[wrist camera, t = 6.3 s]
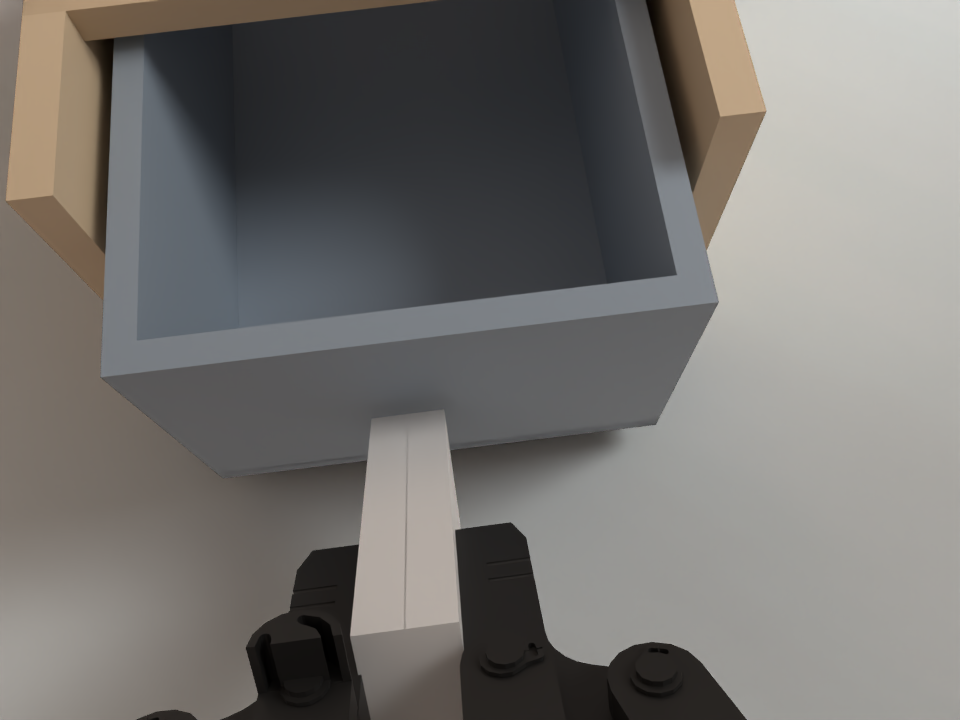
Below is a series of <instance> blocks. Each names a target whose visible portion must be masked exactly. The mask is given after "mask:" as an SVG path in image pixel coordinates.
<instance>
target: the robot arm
mask: <svg viewBox="0 0 960 720" xmlns="http://www.w3.org/2000/svg"><path fill="white" fill-rule="evenodd" d="M293 592H294V594H292V599H291V604H290V611H289V613H286V614H282V615H280V616H278V617H276V618H274V619H272V620H270V621H268V622H266V623H265V624H264V625H263V626H261V627H260V628H259V629H258V630H257V631H256V632H255V633H254V634H253V635H252V637H251V639H250V640H249V642H248V644H247V646H246V650H247V654H248V658H249V661H250V665H251V669H252V672H253V676H254V680H255V683H256V687H257V691H258V698H257V701H255V702H254V703H253V704H251V705H250V706H248V707H247V708H245V709H244V710H242V711H240V712H237V713H235V714H233V715H231V716H229V717H226V718H224V719H221V720H747V719H746V718H745V717H744V716H743V714H742V713H741V712H740V711H739V709H738V708H737V707H736V706H735V704H734V703H733V702H732V701H731V699H730V698H729V697H728V696H727V694H726V693H725V692H724V691H723V689H722V688H721V687H720V686H719V684H718V683H717V682H716V681H715V679H714V678H713V677H712V676H711V674H710V673H709V672H708V671H707V669H706V668H705V667H704V666H703V664H702V663H701V662H700V661H699V660H698V659H697V658H695V657H694V656H693V655H692V654H691V653H689V652H688V651H687V650H684V649H682V648H679V647H677V646H674V645H672V644H664V643H655V642H650V643H644V644H638V645H634V646H632V647H630V648H628V649H626V650H624V651H622V652H620V653H619V654H618V655H617V656H616V657H615V658H614V660H613V661H612V662H611V663H610V665H609V667H607V666H599V665H591V664H586V663H581V662H577V661H575V660H572V659H570V658H567V657H565V656H564V655H562V654H561V653H560V652H558V651H557V650H555V648H554V647H553V646H552V645H551V644H550V642H549V641H548V638H547V636H546V633H545V629H544V624H543V619H542V614H541V610H540V605H539V600H538V595H537V590H536V585H535V580H534V576H533V570H532V565H531V561H530V555H529V550H528V545H527V540H526V537H525V536H524V535H523V534H522V533H521V532H520V531H519V530H518V529H517V528H516V527H515V526H514V525H513V524H512V523H503V524H495V525H488V526H480V527H473V528H465V529H461V526H460V517H459V510H458V503H457V496H456V489H455V482H454V475H453V468H452V461H451V454H450V447H449V440H448V433H447V425H446V418H445V411H444V409H442V410H434V411H426V412H419V413H411V414H403V415H395V416H388V417H380V418H372V419H371V429H370V439H369V449H368V459H367V470H366V480H365V490H364V500H363V510H362V520H361V530H360V540H359V545H352V546H344V547H337V548H329V549H322V550H314V551H312V552H311V553H310V555H309V556H308V557H307V559H306V560H305V561H304V562H303V564H302V565H301V566H300V567H299V569H298V570H297V574H296V579H295V584H294V589H293ZM137 720H197V719H196V718H195V717H194V716H193V715H191V714H190V713H187V712H183V711H178V710H168V711H159V712H155V713H152V714H149V715H147V716H144V717H141V718H139V719H137Z"/></svg>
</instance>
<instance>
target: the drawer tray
mask: <svg viewBox="0 0 960 720" xmlns="http://www.w3.org/2000/svg"><path fill="white" fill-rule="evenodd" d="M718 303H719V301H718V297H717V293H716V289H715V285H714V281H713V276H712V272H711V268H710V264H709V260H708V256H707V252H706V248H705V243H704V239H703V235H702V231H701V227H700V223H699V219H698V215H697V211H696V206H695V202H694V198H693V194H692V190H691V186H690V182H689V178H688V173H687V169H686V165H685V161H684V157H683V153H682V149H681V145H680V140H679V136H678V132H677V128H676V124H675V120H674V116H673V112H672V107H671V103H670V99H669V95H668V91H667V87H666V83H665V79H664V75H663V70H662V66H661V62H660V58H659V54H658V50H657V46H656V42H655V37H654V33H653V29H652V25H651V21H650V17H649V13H648V9H647V4H646V0H439V1H430V2H421V3H412V4H404V5H395V6H386V7H378V8H369V9H360V10H352V11H343V12H334V13H326V14H317V15H308V16H300V17H291V18H282V19H273V20H265V21H256V22H247V23H239V24H230V25H221V26H213V27H204V28H195V29H187V30H178V31H169V32H160V33H152V34H143V35H134V36H126V37H117V38H114V54H113V78H112V103H111V128H110V153H109V177H108V202H107V227H106V251H105V276H104V301H103V326H102V350H101V375H100V377H101V378H102V379H103V380H104V381H105V382H107V383H108V384H109V385H110V386H112V387H113V388H114V389H115V390H116V391H118V392H119V393H120V394H121V395H122V396H124V397H125V398H126V399H127V400H129V401H130V402H131V403H132V404H133V405H135V406H136V407H137V408H138V409H139V410H141V411H142V412H143V413H144V414H146V415H147V416H148V417H149V418H150V419H152V420H153V421H154V422H155V423H156V424H158V425H159V426H160V427H161V428H163V429H164V430H165V431H166V432H167V433H169V434H170V435H171V436H172V437H173V438H175V439H176V440H177V441H178V442H179V443H181V444H182V445H183V446H184V447H186V448H187V449H188V450H189V451H190V452H192V453H193V454H194V455H195V456H196V457H198V458H199V459H200V460H201V461H203V462H204V463H205V464H206V465H207V466H209V467H210V468H211V469H212V470H213V471H215V472H216V473H217V474H218V475H220V476H221V477H222V478H230V477H238V476H246V475H254V474H262V473H270V472H278V471H286V470H294V469H302V468H310V467H318V466H326V465H334V464H343V463H351V462H359V461H367V459H368V449H369V439H370V429H371V419H372V418H380V417H388V416H395V415H403V414H411V413H419V412H426V411H434V410H442V409H444V411H445V418H446V425H447V433H448V440H449V447H450V450H455V449H463V448H472V447H480V446H488V445H496V444H504V443H512V442H520V441H528V440H536V439H544V438H552V437H560V436H568V435H576V434H584V433H593V432H601V431H609V430H617V429H625V428H633V427H641V426H649V425H656V423H657V421H658V419H659V417H660V415H661V413H662V411H663V409H664V407H665V405H666V403H667V402H668V400H669V398H670V396H671V394H672V392H673V390H674V388H675V386H676V384H677V382H678V380H679V378H680V376H681V374H682V372H683V370H684V369H685V367H686V365H687V363H688V361H689V359H690V357H691V355H692V353H693V351H694V349H695V347H696V345H697V343H698V341H699V339H700V337H701V336H702V334H703V332H704V330H705V328H706V326H707V324H708V322H709V320H710V318H711V316H712V314H713V312H714V310H715V308H716V306H717V304H718Z"/></svg>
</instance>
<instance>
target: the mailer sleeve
mask: <svg viewBox="0 0 960 720" xmlns="http://www.w3.org/2000/svg"><path fill="white" fill-rule="evenodd" d="M430 1H439V0H23V12H22V23H21V34H20V45H19V56H18V67H17V78H16V90H15V101H14V112H13V123H12V134H11V145H10V156H9V168H8V179H7V190H6V202H7V203H8V204H9V205H10V206H11V207H12V208H13V209H14V210H15V211H16V212H17V213H18V214H19V215H20V216H21V217H22V218H23V219H24V220H25V221H26V222H27V223H28V224H29V225H30V226H31V227H32V229H33V230H34V231H35V232H36V233H37V234H38V235H39V236H40V237H41V238H42V239H43V240H44V241H45V242H46V243H47V244H48V245H49V246H50V247H51V248H52V249H53V250H54V251H55V252H56V253H57V254H58V255H59V256H60V257H61V258H62V259H63V260H64V261H65V262H66V263H67V264H68V265H69V266H70V267H71V268H72V269H73V270H74V271H75V272H76V273H77V274H78V275H79V276H80V277H81V278H82V279H83V281H84V282H85V283H86V284H87V285H88V286H89V287H90V288H91V289H92V290H93V291H94V292H95V293H96V294H97V295H98V296H99V297H100V298H101V299H102V300H103V301H104V276H105V251H106V227H107V202H108V177H109V153H110V128H111V103H112V78H113V54H114V38H117V37H126V36H134V35H143V34H152V33H160V32H169V31H178V30H187V29H195V28H204V27H213V26H221V25H230V24H239V23H247V22H256V21H265V20H273V19H282V18H291V17H300V16H308V15H317V14H326V13H334V12H343V11H352V10H360V9H369V8H378V7H386V6H395V5H404V4H412V3H421V2H430ZM646 4H647V9H648V13H649V17H650V21H651V25H652V29H653V33H654V37H655V42H656V46H657V50H658V54H659V58H660V62H661V66H662V70H663V75H664V79H665V83H666V87H667V91H668V95H669V99H670V103H671V107H672V112H673V116H674V120H675V124H676V128H677V132H678V136H679V140H680V145H681V149H682V153H683V157H684V161H685V165H686V169H687V173H688V178H689V182H690V186H691V190H692V194H693V198H694V202H695V206H696V211H697V215H698V219H699V223H700V227H701V231H702V235H703V239H704V243H705V248H706V250H707V248H708V246H709V243H710V241H711V239H712V236H713V234H714V232H715V229H716V227H717V225H718V222H719V220H720V218H721V215H722V213H723V211H724V209H725V206H726V204H727V202H728V199H729V197H730V195H731V192H732V190H733V188H734V185H735V183H736V181H737V178H738V176H739V174H740V171H741V169H742V167H743V164H744V162H745V160H746V157H747V155H748V153H749V150H750V148H751V146H752V144H753V141H754V139H755V137H756V134H757V132H758V130H759V127H760V125H761V123H762V120H763V118H764V116H765V113H766V108H765V105H764V101H763V98H762V94H761V91H760V87H759V84H758V80H757V77H756V73H755V70H754V67H753V63H752V60H751V56H750V53H749V49H748V46H747V42H746V39H745V36H744V32H743V29H742V25H741V22H740V18H739V15H738V11H737V8H736V5H735V1H734V0H646Z"/></svg>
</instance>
